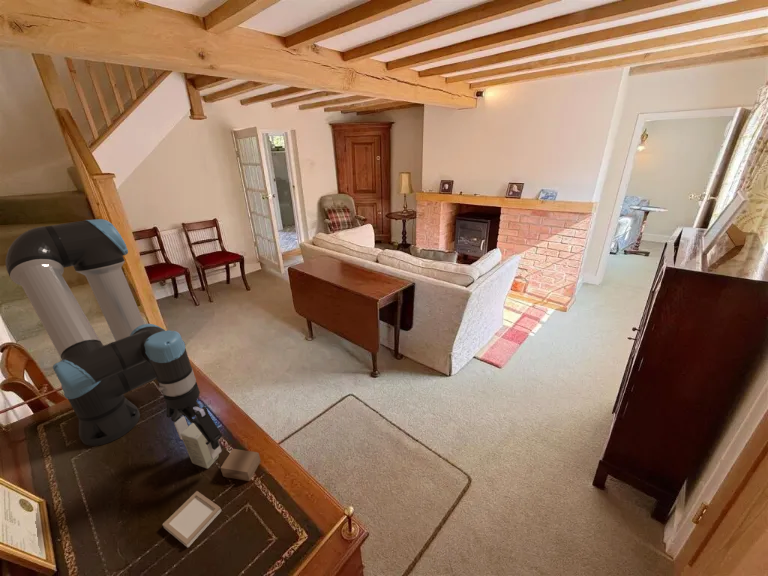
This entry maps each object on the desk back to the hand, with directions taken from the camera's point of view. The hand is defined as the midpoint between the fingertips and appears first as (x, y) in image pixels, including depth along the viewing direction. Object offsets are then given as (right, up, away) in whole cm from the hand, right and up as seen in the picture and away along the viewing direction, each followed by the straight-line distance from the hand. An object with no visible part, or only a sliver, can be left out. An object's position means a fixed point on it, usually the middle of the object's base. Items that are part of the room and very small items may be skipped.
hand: (200, 445), depth 90 cm
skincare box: (0, -6, +3) cm, 7 cm away
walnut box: (+12, -7, +1) cm, 14 cm away
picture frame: (+5, -13, -11) cm, 18 cm away
